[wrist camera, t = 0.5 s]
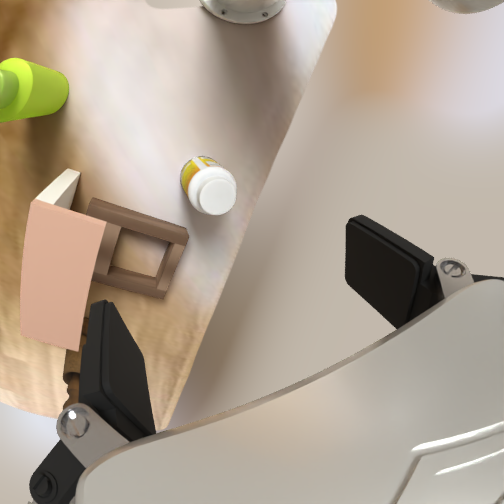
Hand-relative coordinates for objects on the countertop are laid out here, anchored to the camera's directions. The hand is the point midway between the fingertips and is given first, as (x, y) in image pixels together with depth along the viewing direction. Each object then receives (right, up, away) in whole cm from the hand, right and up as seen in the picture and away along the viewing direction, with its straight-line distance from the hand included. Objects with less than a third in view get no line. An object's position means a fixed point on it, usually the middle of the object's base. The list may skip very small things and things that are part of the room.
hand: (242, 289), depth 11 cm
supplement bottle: (-7, +12, +27) cm, 31 cm away
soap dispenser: (-25, +21, +15) cm, 36 cm away
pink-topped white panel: (-24, +4, +24) cm, 34 cm away
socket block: (-17, +2, +28) cm, 33 cm away
